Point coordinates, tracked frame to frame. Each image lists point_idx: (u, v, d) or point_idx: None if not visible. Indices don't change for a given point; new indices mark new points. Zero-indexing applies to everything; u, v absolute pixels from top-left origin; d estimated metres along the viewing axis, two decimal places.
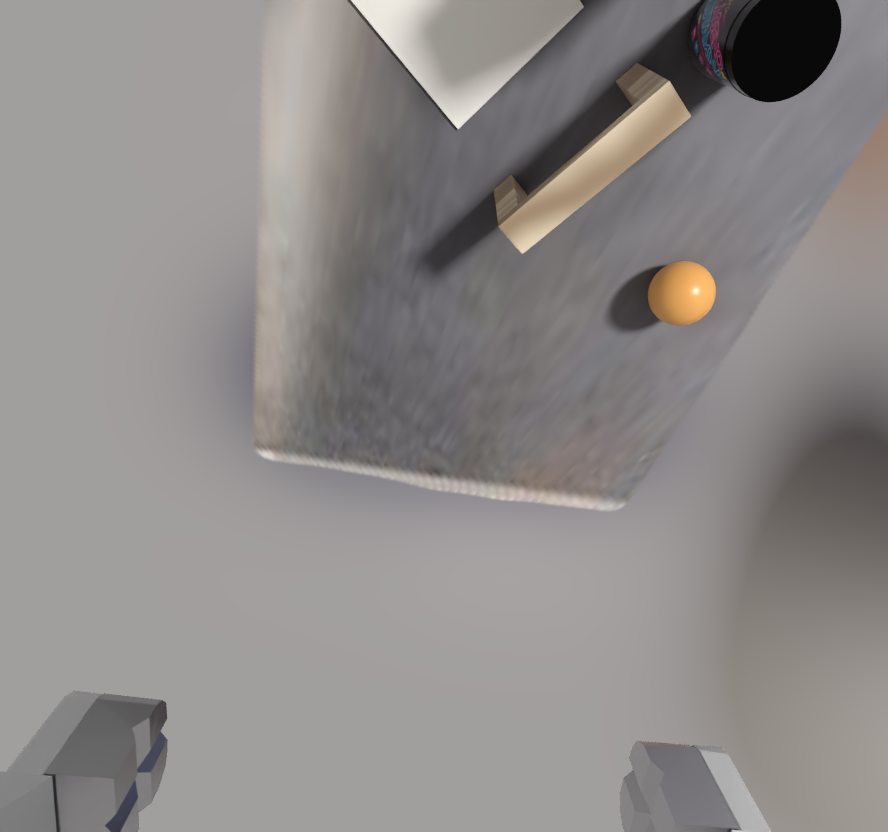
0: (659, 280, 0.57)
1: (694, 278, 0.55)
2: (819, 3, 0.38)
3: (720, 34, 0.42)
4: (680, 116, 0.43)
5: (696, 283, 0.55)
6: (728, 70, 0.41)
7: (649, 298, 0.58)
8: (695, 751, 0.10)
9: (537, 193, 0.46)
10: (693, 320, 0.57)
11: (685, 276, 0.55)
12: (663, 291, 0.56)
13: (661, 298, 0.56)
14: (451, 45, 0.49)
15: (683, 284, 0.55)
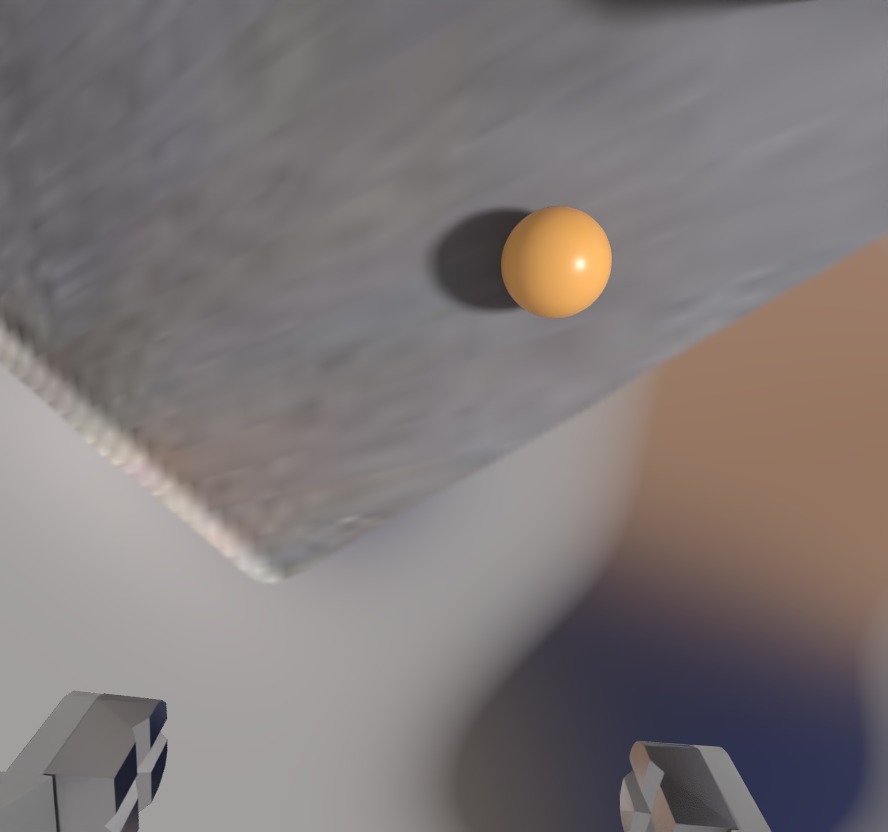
0: (541, 210, 0.32)
1: (592, 233, 0.31)
2: None
3: None
4: None
5: (591, 241, 0.31)
6: None
7: (510, 234, 0.33)
8: (695, 750, 0.10)
9: None
10: (551, 302, 0.32)
11: (583, 222, 0.31)
12: (538, 223, 0.32)
13: (528, 233, 0.32)
14: None
15: (573, 228, 0.31)
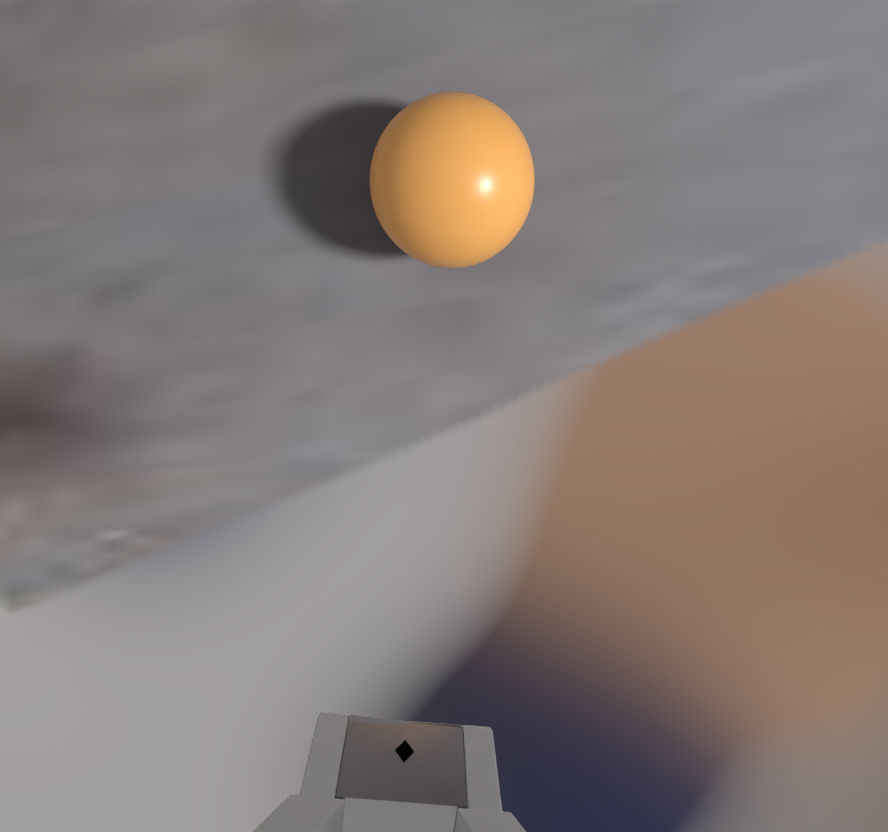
0: None
1: (509, 135, 0.20)
2: None
3: None
4: None
5: (506, 144, 0.20)
6: None
7: (388, 124, 0.22)
8: (459, 730, 0.10)
9: None
10: (433, 232, 0.21)
11: (497, 115, 0.20)
12: (430, 104, 0.20)
13: (412, 115, 0.20)
14: None
15: (481, 119, 0.20)
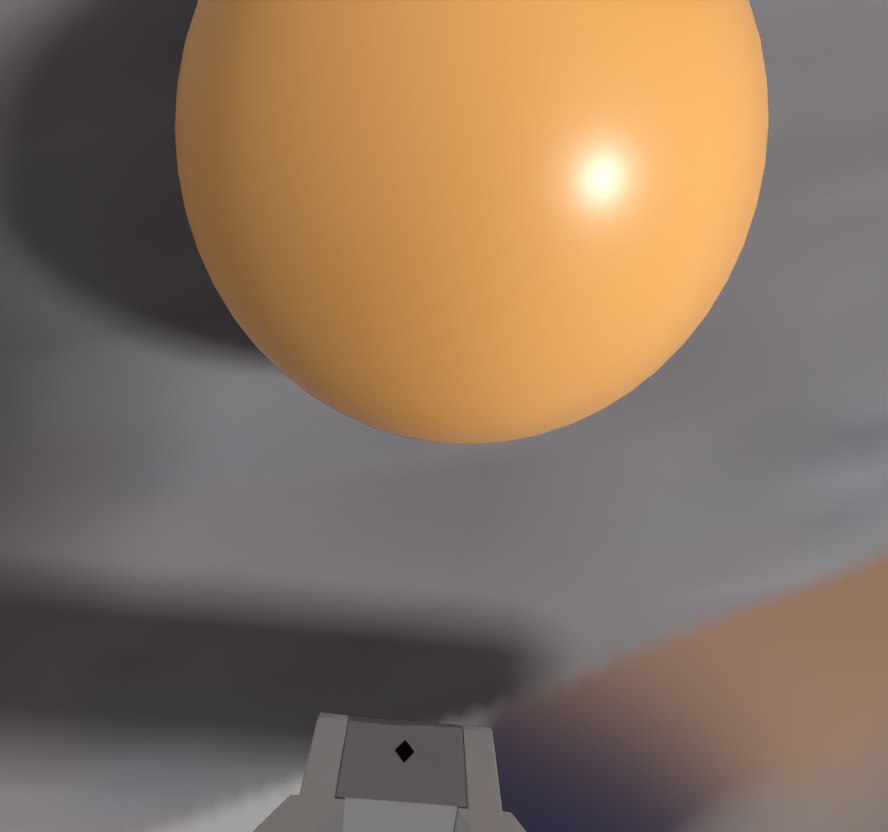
0: None
1: None
2: None
3: None
4: None
5: None
6: None
7: None
8: (459, 729, 0.10)
9: None
10: (399, 368, 0.05)
11: None
12: None
13: None
14: None
15: None
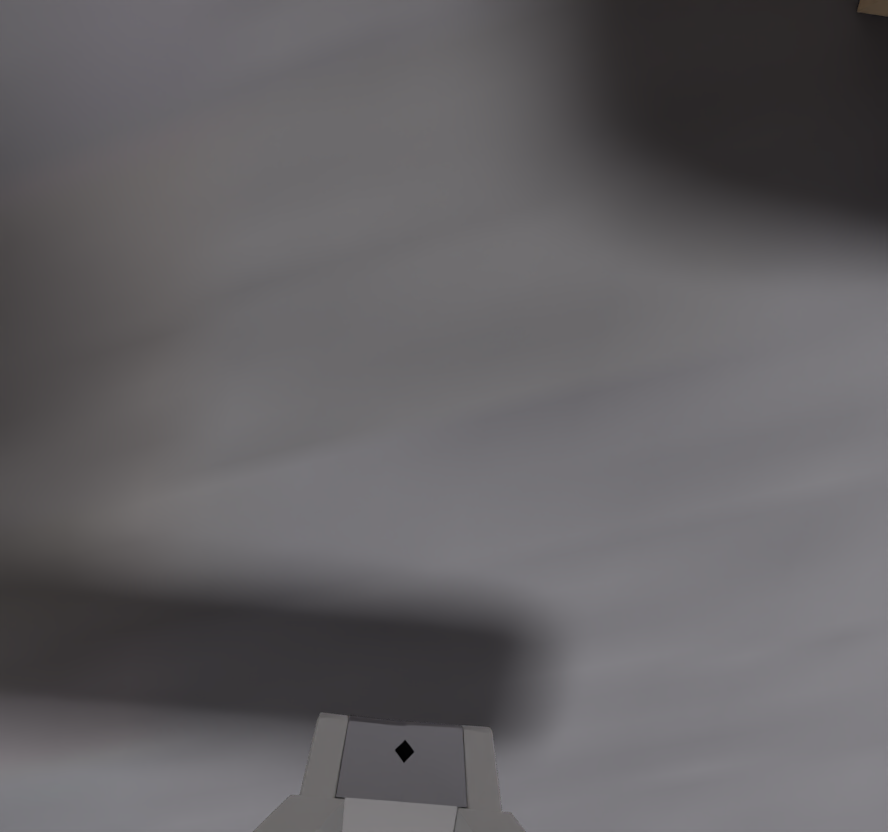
0: None
1: None
2: None
3: None
4: None
5: None
6: None
7: None
8: (459, 730, 0.10)
9: None
10: None
11: None
12: None
13: None
14: None
15: None
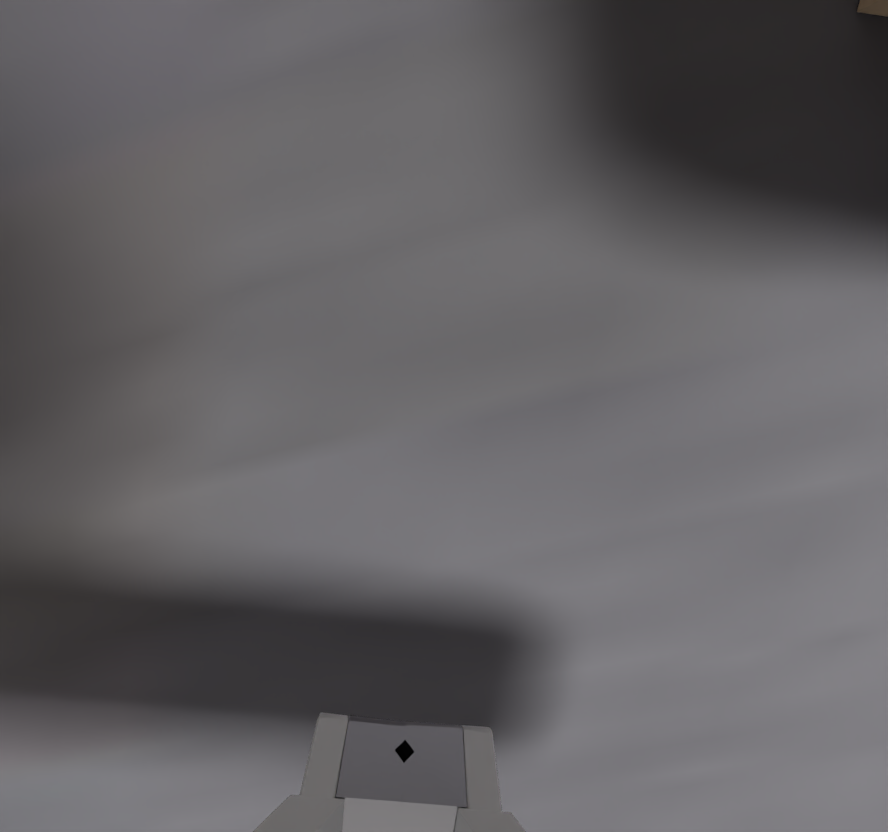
0: None
1: None
2: None
3: None
4: None
5: None
6: None
7: None
8: (459, 730, 0.10)
9: None
10: None
11: None
12: None
13: None
14: None
15: None
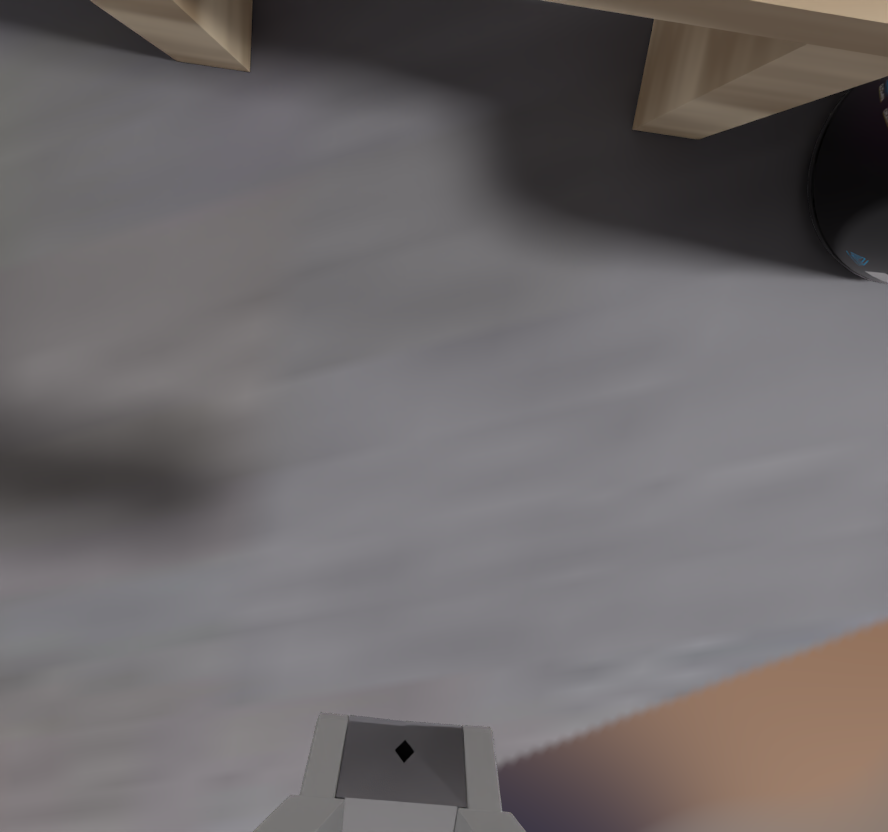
0: None
1: None
2: None
3: None
4: None
5: None
6: None
7: None
8: (459, 730, 0.10)
9: None
10: None
11: None
12: None
13: None
14: None
15: None
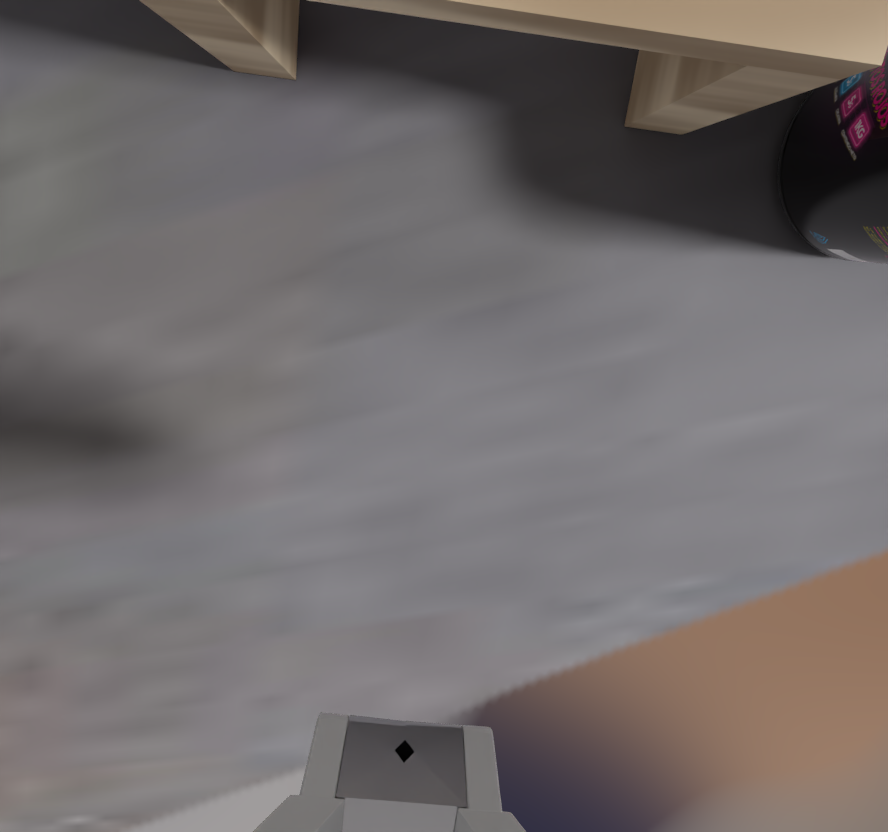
0: None
1: None
2: None
3: None
4: (862, 28, 0.11)
5: None
6: None
7: None
8: (459, 730, 0.10)
9: None
10: None
11: None
12: None
13: None
14: None
15: None
